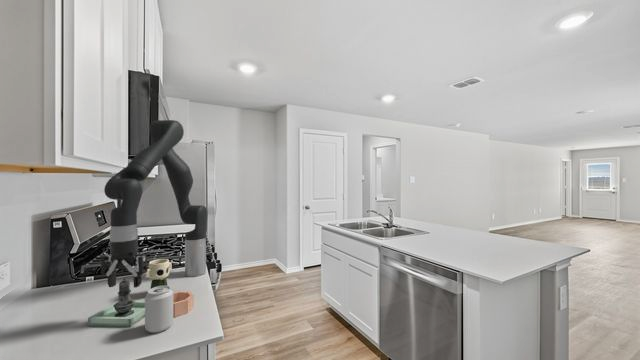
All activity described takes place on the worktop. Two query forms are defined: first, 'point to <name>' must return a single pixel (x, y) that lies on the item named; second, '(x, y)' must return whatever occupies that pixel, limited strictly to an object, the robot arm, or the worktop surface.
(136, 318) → the tray
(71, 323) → the worktop surface
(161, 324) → the can
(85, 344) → the worktop surface
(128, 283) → the grey lumpy tower
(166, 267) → the character mug
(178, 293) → the orange polygonal bowl
